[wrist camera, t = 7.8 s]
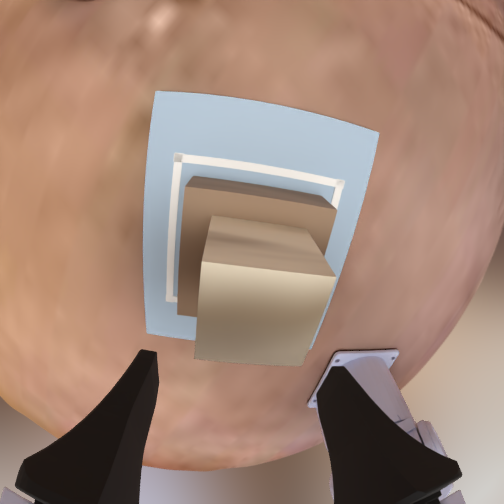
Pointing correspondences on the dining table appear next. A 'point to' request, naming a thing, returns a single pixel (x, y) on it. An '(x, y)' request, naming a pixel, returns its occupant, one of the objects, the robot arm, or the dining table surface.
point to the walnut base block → (240, 207)
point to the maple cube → (260, 293)
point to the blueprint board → (242, 178)
